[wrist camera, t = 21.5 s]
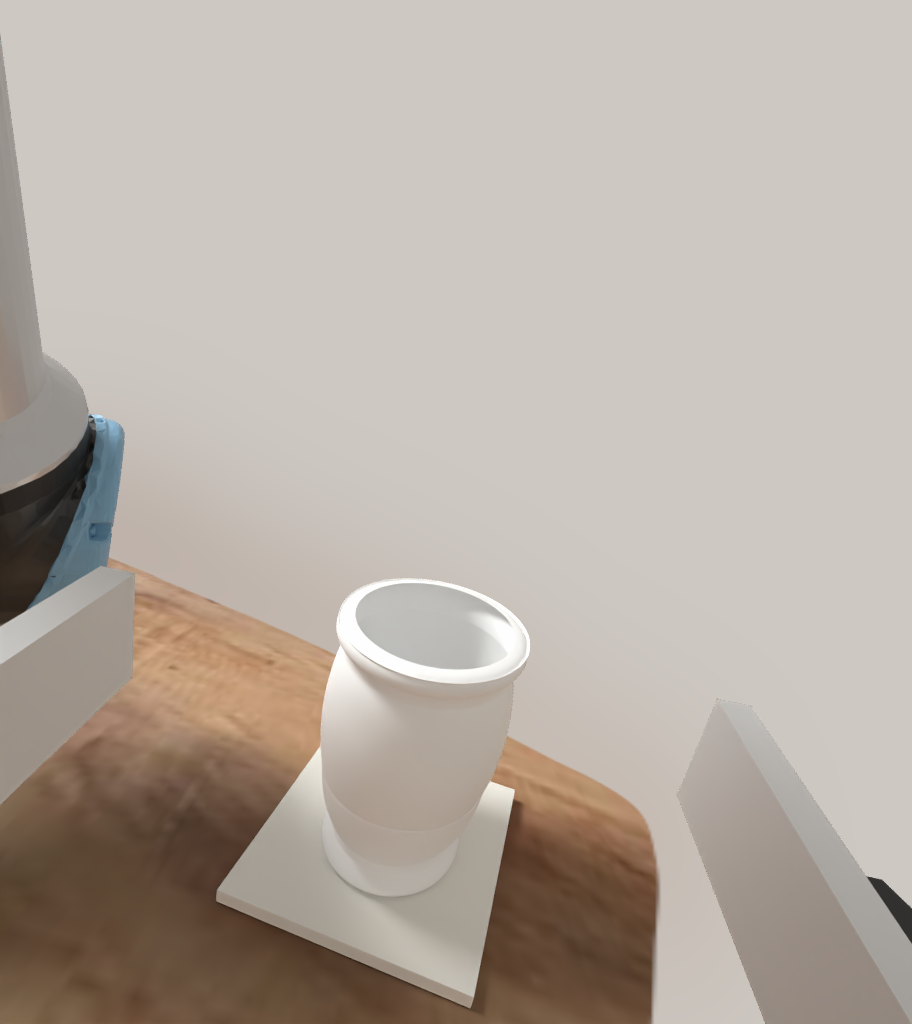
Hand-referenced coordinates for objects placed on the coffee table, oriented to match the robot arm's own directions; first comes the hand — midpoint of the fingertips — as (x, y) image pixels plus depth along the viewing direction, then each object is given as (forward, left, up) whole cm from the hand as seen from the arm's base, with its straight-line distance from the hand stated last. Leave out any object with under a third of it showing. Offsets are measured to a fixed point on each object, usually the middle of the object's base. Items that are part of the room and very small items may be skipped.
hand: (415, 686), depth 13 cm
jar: (-3, +16, -22) cm, 28 cm away
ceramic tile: (-3, +16, -23) cm, 28 cm away
